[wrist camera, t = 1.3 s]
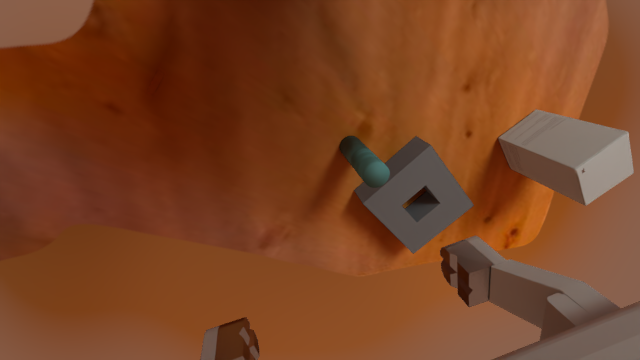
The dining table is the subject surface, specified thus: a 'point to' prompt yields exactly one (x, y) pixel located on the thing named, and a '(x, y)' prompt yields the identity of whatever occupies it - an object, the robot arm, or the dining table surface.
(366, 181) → the teal peg
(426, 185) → the hole block
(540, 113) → the supplement box
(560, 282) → the robot arm
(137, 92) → the dining table surface
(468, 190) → the dining table surface
